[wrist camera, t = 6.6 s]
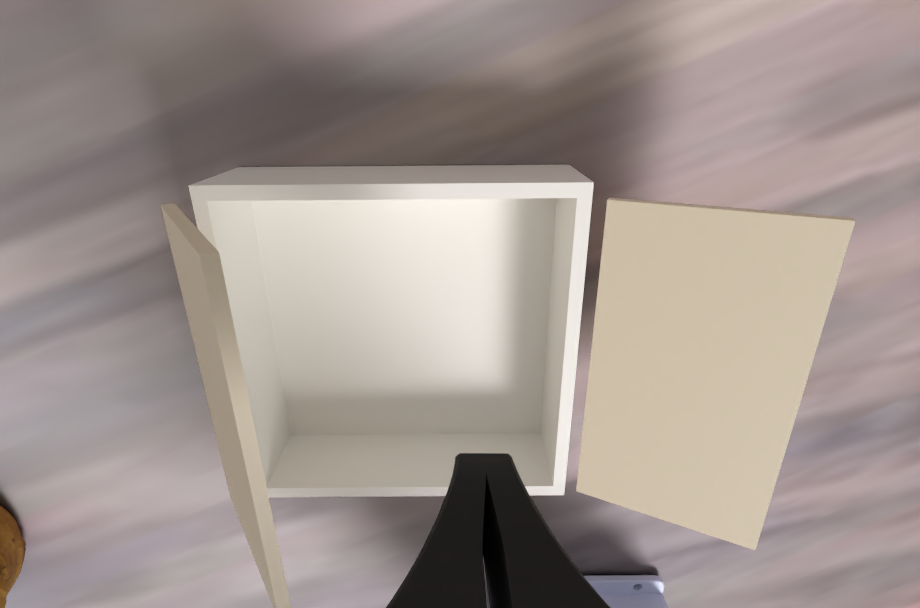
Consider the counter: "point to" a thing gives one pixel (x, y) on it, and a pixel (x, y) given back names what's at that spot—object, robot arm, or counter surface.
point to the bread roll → (9, 553)
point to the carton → (403, 318)
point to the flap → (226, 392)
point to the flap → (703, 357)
